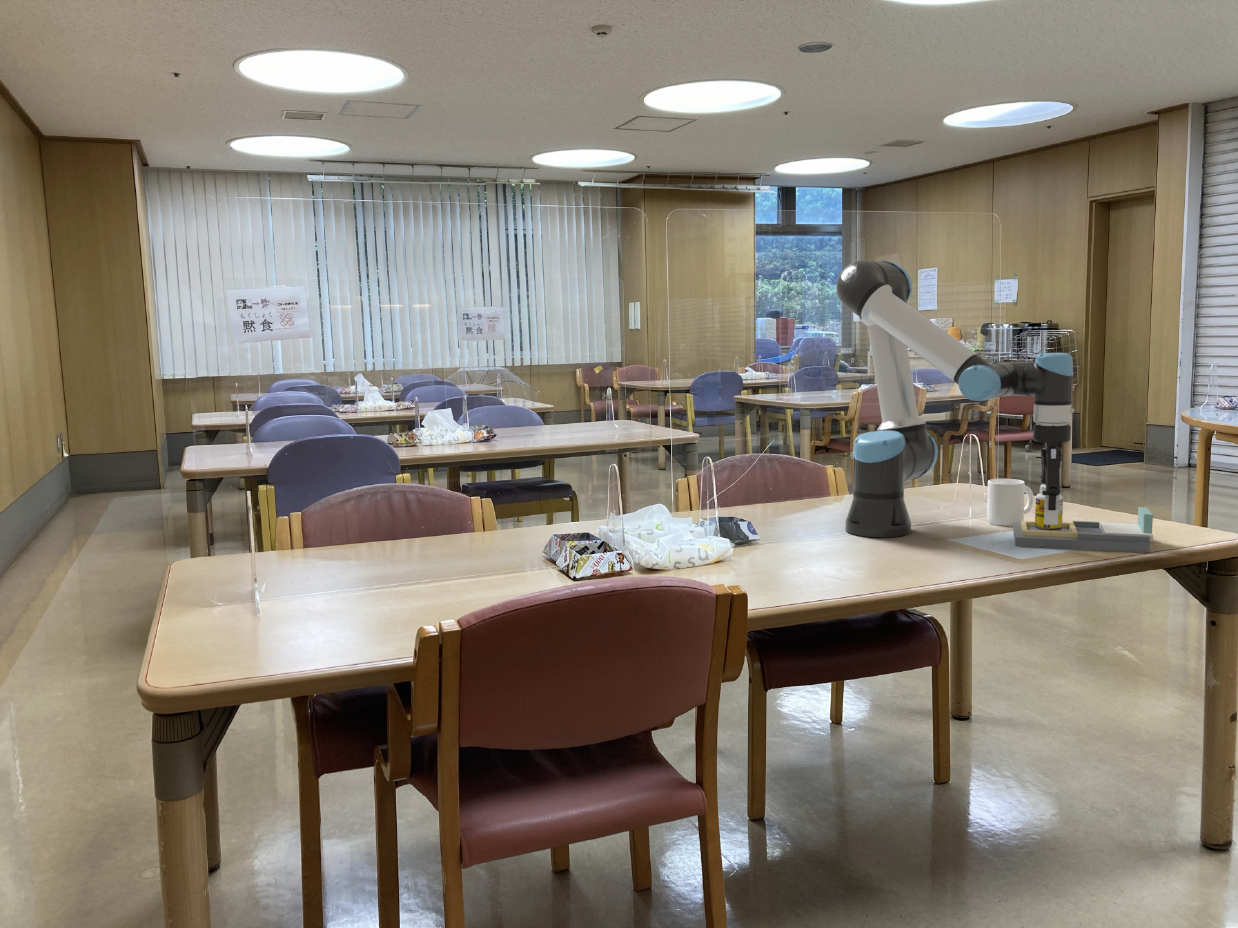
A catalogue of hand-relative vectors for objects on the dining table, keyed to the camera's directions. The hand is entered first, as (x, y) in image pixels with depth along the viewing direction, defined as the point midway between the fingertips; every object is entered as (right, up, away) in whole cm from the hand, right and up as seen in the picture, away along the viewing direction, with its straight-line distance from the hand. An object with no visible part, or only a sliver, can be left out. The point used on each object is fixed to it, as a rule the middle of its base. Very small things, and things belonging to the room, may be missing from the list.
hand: (1048, 518), depth 211 cm
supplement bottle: (0, -3, 0) cm, 3 cm away
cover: (+14, -3, -5) cm, 16 cm away
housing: (+5, -5, -1) cm, 7 cm away
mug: (0, -2, +20) cm, 20 cm away
